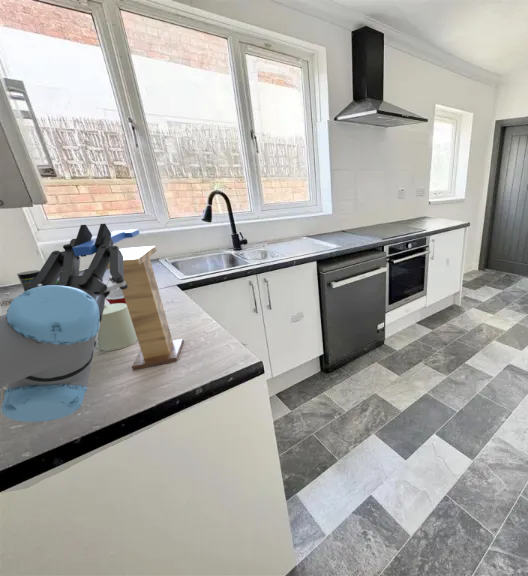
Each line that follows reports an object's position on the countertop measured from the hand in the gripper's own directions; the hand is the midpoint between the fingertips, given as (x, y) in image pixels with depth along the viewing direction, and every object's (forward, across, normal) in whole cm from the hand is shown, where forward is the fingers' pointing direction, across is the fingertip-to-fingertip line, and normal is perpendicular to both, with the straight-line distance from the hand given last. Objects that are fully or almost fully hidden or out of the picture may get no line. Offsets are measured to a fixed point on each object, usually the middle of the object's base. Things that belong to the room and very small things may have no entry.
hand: (96, 229), depth 63 cm
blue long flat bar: (+2, 0, -5) cm, 6 cm away
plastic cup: (+20, -14, -55) cm, 60 cm away
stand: (-7, 0, -39) cm, 40 cm away
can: (+6, -13, -47) cm, 49 cm away
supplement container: (+68, -62, -83) cm, 124 cm away
